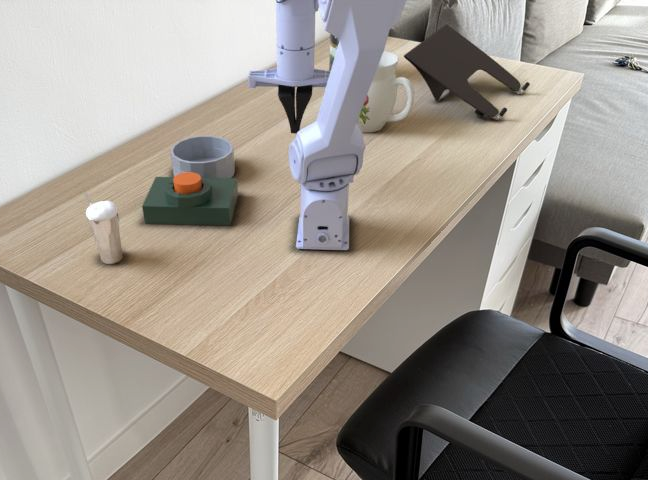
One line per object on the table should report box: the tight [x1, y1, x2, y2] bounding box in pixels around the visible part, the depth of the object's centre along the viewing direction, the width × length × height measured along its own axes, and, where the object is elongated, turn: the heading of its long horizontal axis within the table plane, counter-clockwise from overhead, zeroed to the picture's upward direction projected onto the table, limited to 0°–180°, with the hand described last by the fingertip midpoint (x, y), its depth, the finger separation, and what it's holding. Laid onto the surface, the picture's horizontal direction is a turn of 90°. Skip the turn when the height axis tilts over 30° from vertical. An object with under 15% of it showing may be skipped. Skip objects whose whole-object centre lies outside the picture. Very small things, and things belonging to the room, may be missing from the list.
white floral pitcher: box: [335, 47, 415, 133], centre depth 132 cm, size 11×18×14 cm, turn 51°
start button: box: [173, 172, 202, 194], centre depth 109 cm, size 4×4×2 cm
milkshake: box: [83, 191, 124, 265], centre depth 100 cm, size 4×5×10 cm
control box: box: [141, 176, 239, 226], centre depth 112 cm, size 10×14×5 cm
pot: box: [169, 135, 236, 178], centre depth 122 cm, size 11×11×5 cm
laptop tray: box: [403, 23, 531, 121], centre depth 144 cm, size 23×23×9 cm
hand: (295, 130), depth 111 cm, fingers closed
